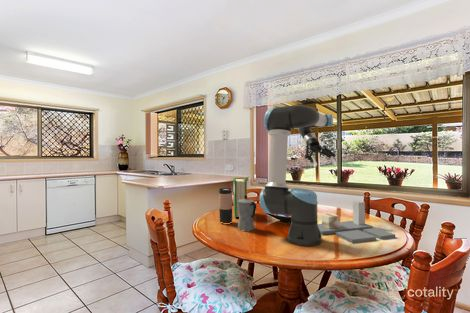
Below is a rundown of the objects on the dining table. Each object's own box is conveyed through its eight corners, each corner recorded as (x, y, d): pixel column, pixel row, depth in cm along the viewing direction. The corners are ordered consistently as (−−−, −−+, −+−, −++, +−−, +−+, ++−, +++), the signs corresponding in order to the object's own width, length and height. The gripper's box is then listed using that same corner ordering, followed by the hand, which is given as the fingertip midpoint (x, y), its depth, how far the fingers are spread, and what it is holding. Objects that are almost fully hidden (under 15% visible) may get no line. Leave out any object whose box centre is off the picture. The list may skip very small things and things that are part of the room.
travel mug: (220, 221, 150) (219, 188, 150) (232, 221, 150) (232, 187, 150) (218, 224, 142) (218, 189, 142) (232, 224, 142) (231, 189, 142)
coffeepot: (232, 227, 137) (231, 194, 136) (246, 224, 142) (245, 193, 142) (248, 234, 124) (248, 198, 124) (263, 231, 129) (262, 196, 129)
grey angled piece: (322, 234, 122) (321, 207, 122) (308, 227, 133) (308, 202, 133) (372, 229, 129) (372, 203, 129) (355, 223, 141) (355, 199, 141)
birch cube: (328, 228, 126) (328, 216, 126) (321, 225, 132) (321, 214, 132) (339, 227, 128) (338, 216, 128) (331, 224, 133) (331, 213, 133)
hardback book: (247, 218, 155) (246, 180, 155) (235, 218, 155) (234, 180, 155) (244, 212, 173) (244, 177, 173) (233, 212, 173) (233, 177, 172)
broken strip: (352, 243, 110) (352, 239, 110) (335, 235, 121) (335, 232, 121) (395, 237, 116) (395, 234, 116) (376, 230, 127) (376, 227, 127)
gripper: (325, 145, 167) (341, 169, 153) (292, 146, 161) (304, 170, 146) (330, 137, 162) (347, 160, 148) (296, 137, 156) (309, 161, 141)
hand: (326, 165), depth 147 cm, fingers open, 13 cm apart
